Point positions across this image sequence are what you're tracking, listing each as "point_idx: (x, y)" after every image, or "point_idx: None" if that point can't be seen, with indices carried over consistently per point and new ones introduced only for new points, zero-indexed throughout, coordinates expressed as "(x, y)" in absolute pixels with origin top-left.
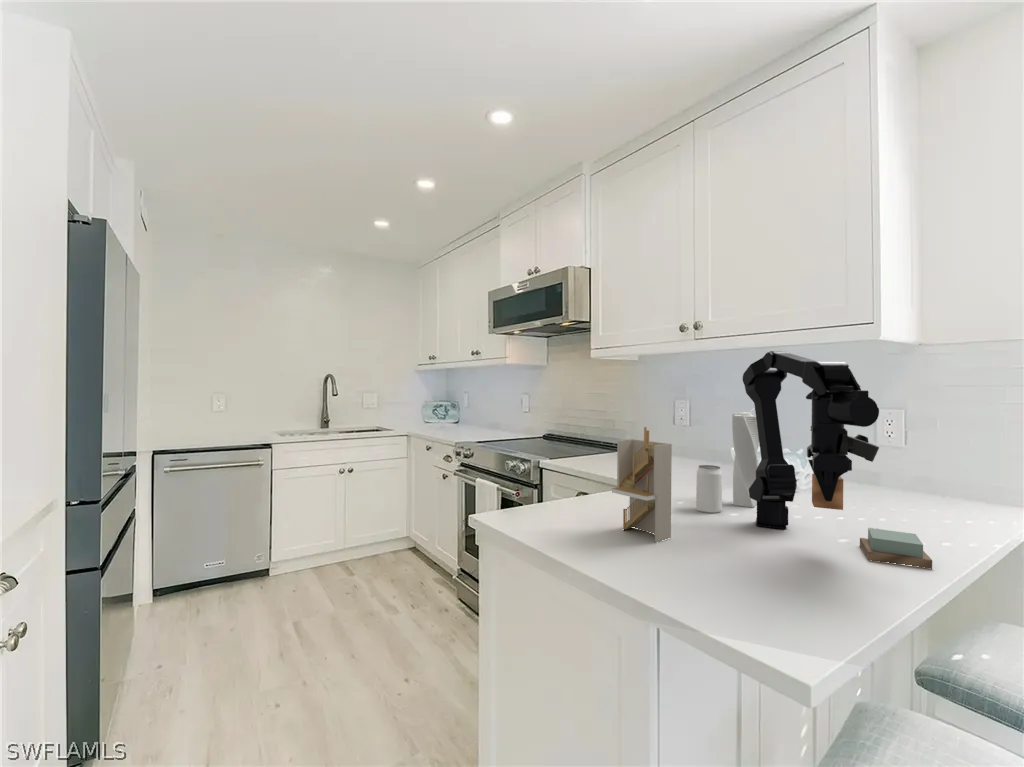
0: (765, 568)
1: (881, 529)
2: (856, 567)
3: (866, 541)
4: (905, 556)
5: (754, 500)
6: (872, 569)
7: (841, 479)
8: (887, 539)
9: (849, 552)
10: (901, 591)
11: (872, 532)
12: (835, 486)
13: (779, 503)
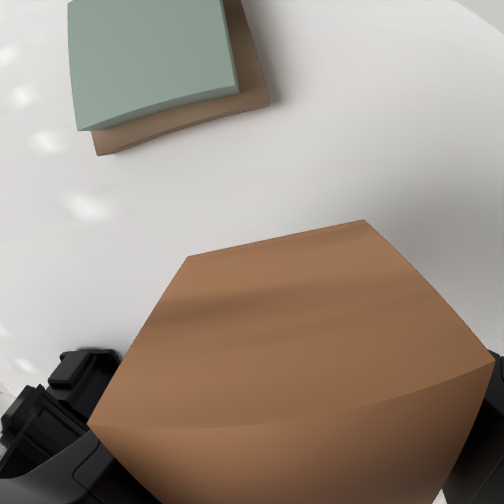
0: (478, 322)
1: (72, 89)
2: (370, 135)
3: (129, 128)
4: (239, 5)
5: (5, 403)
6: (359, 93)
7: (460, 389)
8: (218, 36)
9: (210, 166)
10: (477, 54)
11: (140, 99)
12: (498, 357)
13: (82, 411)
